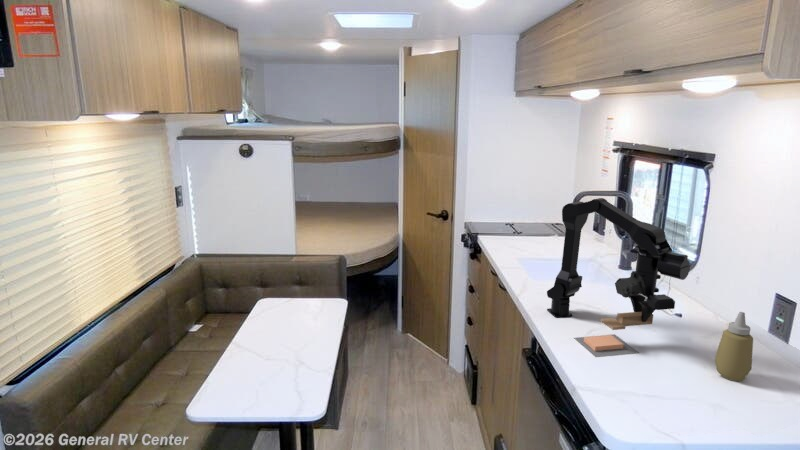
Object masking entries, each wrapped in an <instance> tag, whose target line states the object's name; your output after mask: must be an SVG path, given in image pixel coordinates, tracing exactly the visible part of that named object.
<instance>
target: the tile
mask: <svg viewBox="0 0 800 450" xmlns="http://www.w3.org/2000/svg"><path fill="white" fill-rule="evenodd" d="M612 335H613V334H605V336H602V335H593V337H590V336H583V337H584V342H585V343H586V344H587V345H588V346H590V347H591V348H592V349H593V350H594V351H602V350H613V349H623V345H624V344H623V343H621V342H620V341H619V340H617V339H616V338H615V337H613V336H612Z"/></svg>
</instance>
